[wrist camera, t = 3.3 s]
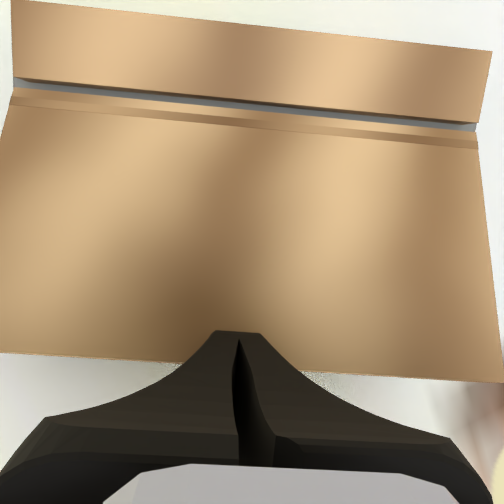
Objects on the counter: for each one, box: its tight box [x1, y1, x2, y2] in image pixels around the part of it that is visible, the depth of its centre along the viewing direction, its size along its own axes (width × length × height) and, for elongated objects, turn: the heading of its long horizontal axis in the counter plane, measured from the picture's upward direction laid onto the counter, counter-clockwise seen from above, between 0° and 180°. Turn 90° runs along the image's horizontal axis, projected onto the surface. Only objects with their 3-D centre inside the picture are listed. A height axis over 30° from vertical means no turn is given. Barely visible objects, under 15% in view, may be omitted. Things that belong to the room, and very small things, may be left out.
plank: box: [0, 87, 504, 383], centre depth 13 cm, size 15×8×1 cm
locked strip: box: [11, 0, 493, 125], centre depth 14 cm, size 15×2×1 cm, turn 85°
